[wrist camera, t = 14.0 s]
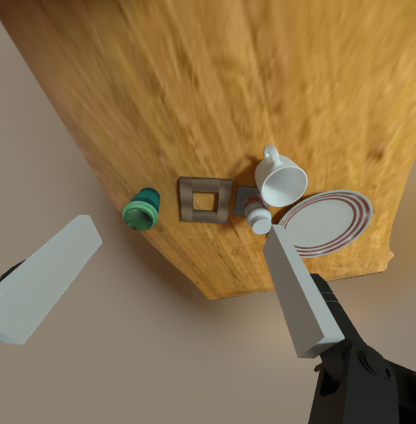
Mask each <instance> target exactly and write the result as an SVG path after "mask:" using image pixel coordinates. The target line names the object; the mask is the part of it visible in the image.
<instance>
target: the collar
mask: <svg viewBox="0 0 416 424" xmlns="http://www.w3.org/2000/svg"><path fill="white" fill-rule="evenodd" d="M179 183H180V198H181V213H182V221H186V222H206V223H226V224H227V219H228V212H229V205H230V198H231V191H232V184H233V181H232V179H221V178H201V177H180V179H179ZM193 191H198V192H218V193H219V196H218V207H217V211H210V210H193Z"/></svg>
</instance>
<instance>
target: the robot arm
mask: <svg viewBox="0 0 416 424" xmlns="http://www.w3.org/2000/svg"><path fill="white" fill-rule="evenodd" d="M101 244H102V240H101V238H100V236H99V234H98V232H97V230H96V228H95V226H94V224H93V221H92V220H91V217H90V216H89V215H78V216H77V217H76V218H75V219H74V220H72V221H71V222H70V223H69V224H68V225H67V226H65V227H64V228H63V229H62V230H61V231H60V232H58V233H57V234H56V235H55V236H54V237H52V238H51V239H50V240H49V241H48V242H47V243H45V244H44V245H43V246H42V247H41V248H40V249H39V250H37V251H36V252H35V253H34V254H33V255H31V256H30V257H29V258H28V259H27V260H24V261H22V262H20V263H18V264H17V265H15V266H13V267H12V268H10V269H9V270H8V271H7V272H6V273H4V274H3V275H2V276H1V278H0V340H1V341H3V342H5V343H8V344H24V343H25V342H26V340H27V339H28V338H29V337H30V336H31V334H32V333H33V332H34V330H35V329H36V328H37V327H38V325H39V324H40V323H41V321H42V320H43V319H44V317H45V316H46V315H47V313H48V312H49V311H50V310H51V308H52V307H53V306H54V304H55V303H56V302H57V301H58V299H59V298H60V297H61V296H62V294H63V293H64V292H65V290H66V289H67V288H68V287H69V285H70V284H71V283H72V281H73V280H74V279H75V277H76V276H77V275H78V274H79V272H80V271H81V270H82V268H83V267H84V266H85V264H86V263H87V262H88V261H89V259H90V258H91V257H92V256H93V254H94V253H95V252H96V250H97V249H98V248H99V246H100V245H101ZM263 253H264V256H265V259H266V262H267V265H268V268H269V271H270V274H271V277H272V280H273V283H274V286H275V289H276V292H277V295H278V298H279V302H280V305H281V308H282V310H283V314H284V317H285V320H286V323H287V326H288V329H289V332H290V335H291V338H292V341H293V344H294V348H295V351H296V354H297V356H298V358H315V357H317V356H318V355H320V357H321V359H322V363H321V364H319V365H317V366H316V367H315V369H314V371H315V372H318V371H320V372H319V377H318V381H317V386H316V391H315V395H314V400H313V405H312V409H311V414H310V418H309V422H308V424H416V372H415V371H412V370H410V369H407V368H405V367H402V366H400V365H398V364H395V363H393V362H390V361H388V360H386V359H384V358H383V357H382V355H380V354H379V353H378V352H377V351H375V350H374V349H373V348H372V347H370V346H368V345H367V344H366V343H365V342H364V341H363V340H362V338H361V337H360V335H359V334H358V332H357V330H356V329H355V327H354V326H353V324H352V322H351V321H350V319H349V318H348V316H347V314H346V313H345V311H344V310H343V308H342V306H341V305H340V303H338V300H337V298H336V297H335V295H334V294H333V292H332V290H331V289H330V287H329V286H328V284H327V282H326V281H325V280H324V279H323V278H322V277H321V276H320V275H319V274H312V273H309V272H308V270H307V268H306V267H305V265H304V263H303V261H302V259H301V258H300V256H299V254H298V252H297V250H296V249H295V247H294V245H293V243H292V241H291V239H290V238H289V236H288V234H287V232H286V230H285V229H284V227H283V225H273V224H272V226H271V228H270V231H269V234H268V237H267V240H266V242H265V245H264V248H263Z"/></svg>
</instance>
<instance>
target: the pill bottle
mask: <svg viewBox="0 0 416 424" xmlns="http://www.w3.org/2000/svg"><path fill="white" fill-rule="evenodd" d="M243 210H244V213H245V217H246V220H247V223H248V225H249V226H250V227H252V230H253V232H254V233H256V234H265V233H268V232H269V231H270V228H271V226H272V223H271V214H270V212H269V210H268V208H267V206H266V204H265V202H264V200H263V198H262V197H261V196H259V195H250V196H248V197H246V198H245V199H244V201H243Z"/></svg>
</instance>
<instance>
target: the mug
mask: <svg viewBox="0 0 416 424" xmlns="http://www.w3.org/2000/svg"><path fill="white" fill-rule="evenodd" d="M263 155H264V159H263V160H262V161H261V162H260V163H259V164H258V166H257V168H256V171H255V181H256V184H257V187H258V189H259V191H260V193H261V196H262V198H263V200H264V201H265V202H266V203H267V204H269V205H271V206H274V207H283V206H287V205H290V204H292V203H294V202H295V201H297V200H298V199H299V198H300V197H301V196H302V195H303V193H304V192H305V190H306V187H307V183H308V180H307V175H306V173H305V172H304V171H303V170H302V169H301V168H300V167H298V166H297V165H296V164H295V163H294V162H293V161H291V160H290V159H288V158H287V157H285V156H282V155H279V154H278V152H277V150H276V148H275V147H274V145H272V144H270V145H267V146H265V147H264V148H263Z"/></svg>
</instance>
